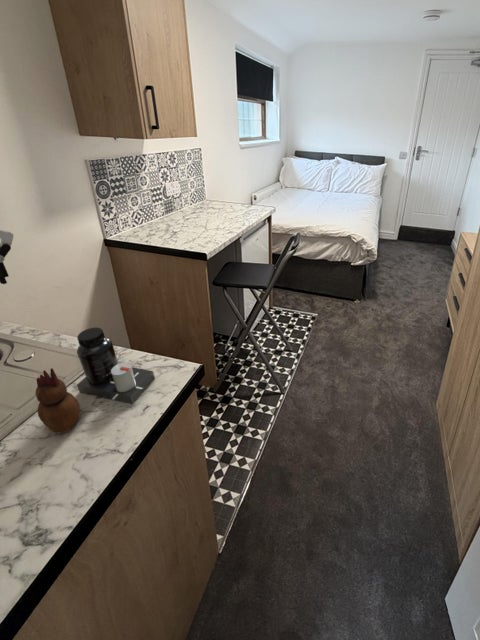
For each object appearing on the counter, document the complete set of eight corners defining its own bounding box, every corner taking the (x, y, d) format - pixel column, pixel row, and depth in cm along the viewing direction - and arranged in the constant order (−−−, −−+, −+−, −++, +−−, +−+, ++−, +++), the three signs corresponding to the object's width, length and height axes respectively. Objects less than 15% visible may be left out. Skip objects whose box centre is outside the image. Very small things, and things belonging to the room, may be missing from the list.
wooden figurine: (90, 418, 68) (69, 363, 62) (63, 442, 63) (37, 384, 57) (67, 409, 70) (44, 354, 64) (40, 430, 65) (12, 374, 59)
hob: (73, 398, 73) (70, 389, 72) (105, 369, 81) (103, 360, 80) (131, 411, 70) (129, 402, 69) (159, 379, 78) (157, 371, 77)
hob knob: (112, 390, 72) (106, 371, 70) (125, 377, 75) (119, 359, 73) (127, 393, 71) (121, 375, 69) (139, 380, 74) (135, 362, 72)
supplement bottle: (83, 376, 76) (67, 333, 71) (114, 361, 80) (101, 320, 75) (93, 390, 71) (77, 347, 66) (125, 374, 76) (112, 332, 71)
